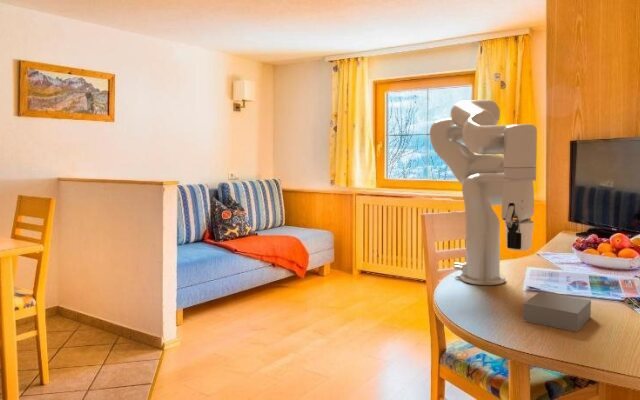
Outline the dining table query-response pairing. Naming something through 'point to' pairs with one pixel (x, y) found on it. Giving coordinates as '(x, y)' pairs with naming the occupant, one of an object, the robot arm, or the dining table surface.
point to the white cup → (523, 234)
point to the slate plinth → (557, 311)
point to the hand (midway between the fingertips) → (518, 245)
